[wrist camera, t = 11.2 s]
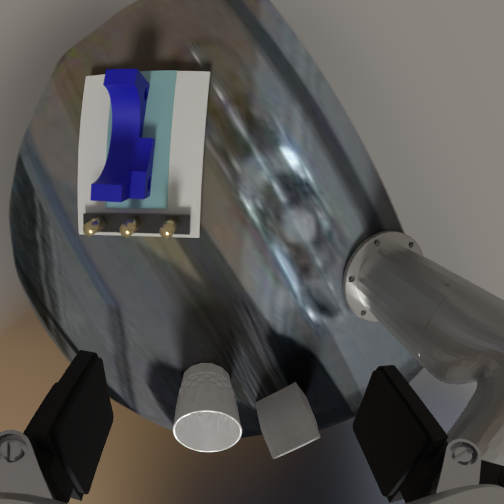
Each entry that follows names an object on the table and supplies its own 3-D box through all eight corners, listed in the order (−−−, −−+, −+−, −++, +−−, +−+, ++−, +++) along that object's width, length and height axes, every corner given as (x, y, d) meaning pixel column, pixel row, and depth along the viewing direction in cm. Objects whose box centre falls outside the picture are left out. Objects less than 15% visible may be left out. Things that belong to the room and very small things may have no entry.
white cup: (184, 352, 39) (179, 404, 29) (241, 365, 41) (250, 416, 31) (173, 394, 41) (168, 445, 31) (226, 404, 42) (231, 456, 33)
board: (210, 75, 30) (210, 71, 28) (199, 234, 35) (199, 238, 33) (90, 79, 28) (85, 75, 27) (83, 231, 33) (78, 234, 31)
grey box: (255, 402, 43) (266, 452, 33) (295, 381, 43) (314, 430, 33) (267, 415, 44) (279, 463, 34) (305, 395, 44) (324, 442, 34)
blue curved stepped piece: (150, 196, 31) (137, 203, 26) (110, 193, 31) (90, 200, 25) (163, 84, 28) (153, 68, 23) (123, 84, 28) (106, 69, 22)
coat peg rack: (190, 214, 33) (187, 221, 29) (190, 233, 33) (187, 242, 29) (85, 212, 31) (71, 219, 27) (86, 230, 32) (72, 238, 28)
